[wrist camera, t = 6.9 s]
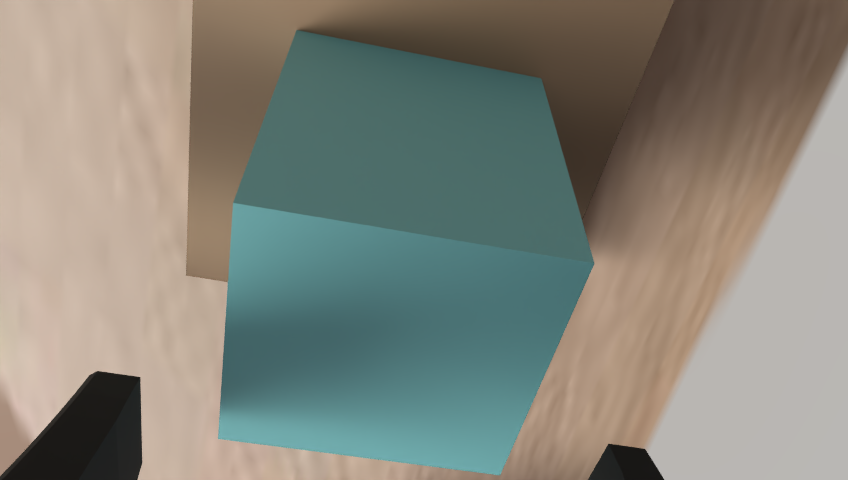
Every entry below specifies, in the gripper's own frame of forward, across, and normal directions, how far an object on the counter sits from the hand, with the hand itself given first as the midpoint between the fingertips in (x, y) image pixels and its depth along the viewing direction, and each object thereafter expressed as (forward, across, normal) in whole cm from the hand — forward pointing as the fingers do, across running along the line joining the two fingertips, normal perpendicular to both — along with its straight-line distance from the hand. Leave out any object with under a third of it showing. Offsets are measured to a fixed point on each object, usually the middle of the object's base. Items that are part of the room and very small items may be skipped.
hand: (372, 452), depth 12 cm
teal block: (+7, 0, -1) cm, 7 cm away
